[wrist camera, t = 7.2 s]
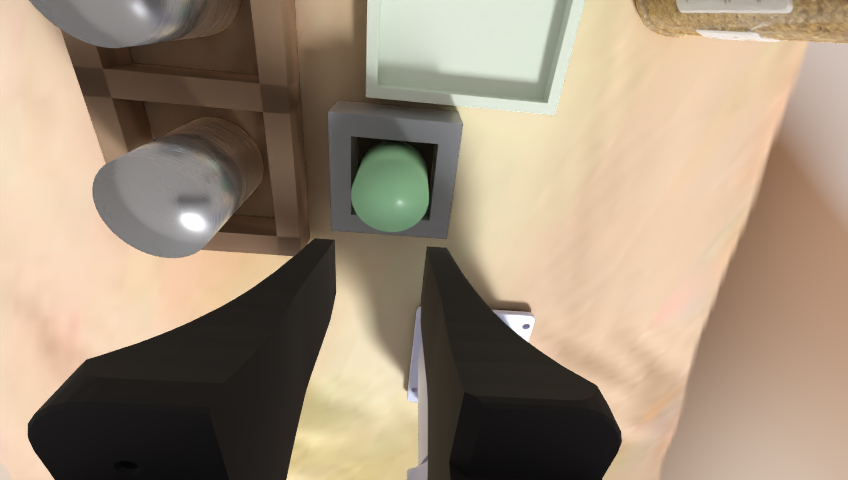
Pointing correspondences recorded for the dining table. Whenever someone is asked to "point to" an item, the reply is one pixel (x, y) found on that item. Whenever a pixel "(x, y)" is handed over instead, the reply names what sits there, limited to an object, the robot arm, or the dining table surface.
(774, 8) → the sprinkles bottle
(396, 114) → the grey square frame
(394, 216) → the button
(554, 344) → the dining table surface
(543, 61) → the pale green square tray
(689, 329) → the dining table surface
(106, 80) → the pallet
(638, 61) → the dining table surface
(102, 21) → the cylinder
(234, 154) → the seated billet
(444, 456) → the robot arm
